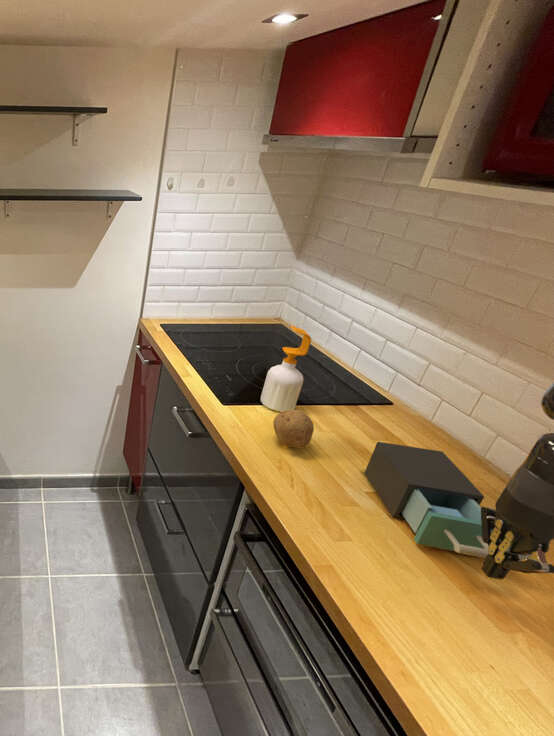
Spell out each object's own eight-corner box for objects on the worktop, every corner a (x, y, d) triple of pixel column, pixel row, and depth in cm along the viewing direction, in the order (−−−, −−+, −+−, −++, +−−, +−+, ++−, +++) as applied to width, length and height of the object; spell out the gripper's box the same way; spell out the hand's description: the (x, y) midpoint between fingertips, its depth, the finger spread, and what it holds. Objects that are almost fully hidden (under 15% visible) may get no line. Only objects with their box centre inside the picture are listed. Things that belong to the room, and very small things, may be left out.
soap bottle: (256, 394, 137) (276, 320, 127) (288, 398, 135) (311, 323, 125) (264, 410, 129) (287, 333, 119) (298, 414, 127) (324, 336, 117)
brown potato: (274, 429, 121) (284, 397, 117) (311, 443, 115) (323, 411, 111) (263, 444, 115) (273, 411, 111) (302, 460, 109) (314, 426, 105)
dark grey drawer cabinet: (464, 530, 90) (484, 496, 86) (392, 517, 93) (409, 483, 89) (426, 483, 103) (442, 451, 99) (364, 472, 105) (377, 441, 102)
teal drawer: (506, 580, 79) (526, 551, 76) (431, 565, 82) (447, 536, 79) (446, 506, 95) (461, 480, 92) (385, 496, 97) (397, 469, 94)
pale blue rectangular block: (448, 524, 89) (457, 509, 87) (460, 538, 86) (469, 523, 84) (423, 519, 90) (431, 505, 88) (433, 533, 87) (441, 518, 85)
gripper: (483, 465, 75) (442, 538, 82) (545, 525, 64) (490, 605, 71) (537, 473, 74) (490, 548, 81) (611, 536, 62) (548, 617, 69)
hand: (490, 574), depth 76 cm, fingers closed
